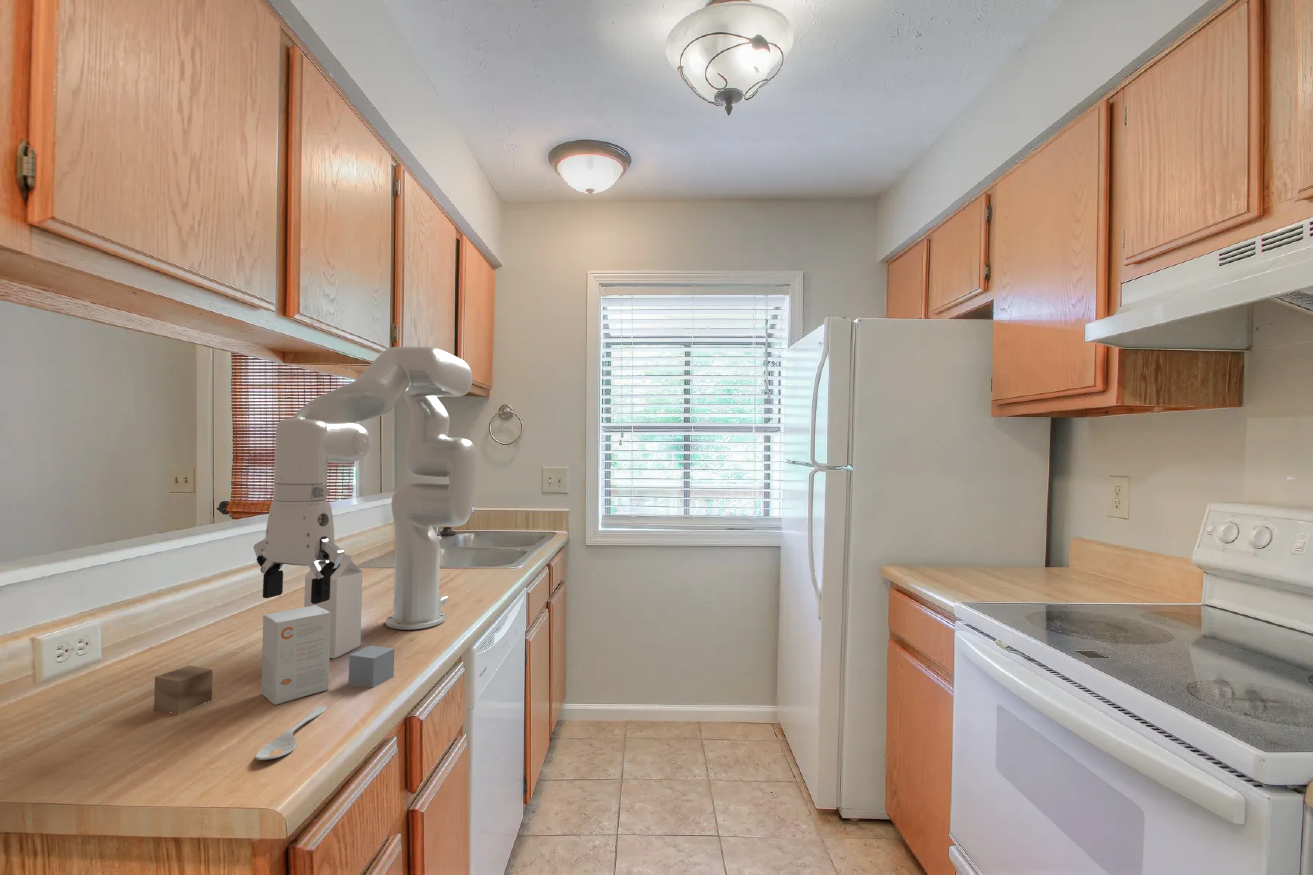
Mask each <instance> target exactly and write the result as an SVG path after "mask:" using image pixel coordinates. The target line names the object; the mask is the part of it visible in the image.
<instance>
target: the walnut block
mask: <svg viewBox="0 0 1313 875" xmlns="http://www.w3.org/2000/svg"><path fill="white" fill-rule="evenodd" d="M213 670H214V669H213V668H208V667H207V668H206V667H201V666H194V665H186V666H182V667H180V668H177V669H174V670H171V671H168V672H166V673H163V674H160V675H158V676H157V675H156V676H154V692H153V693H154V697H153V698H154V699H153V710H155V711H159V712H164V713H169V712H172V713H171V714H174V713H176V714H175V715H180V714H179V713H181V714H183V713H186V712H188V711H190V710H192V708H193V709H194V707H195V708H197V707H196V706H198V707H200V706H202V705H204V704H203V703H205V702H207V703H209V702H211V701H210V700H212V698H213V697H212V696H213V673H214V672H213ZM208 701H209V702H208ZM212 701H213V700H212ZM201 704H202V705H201ZM205 704H206V703H205ZM199 705H200V706H199ZM189 709H190V710H189ZM187 710H188V711H187ZM185 711H186V712H185ZM182 712H183V713H182Z"/></svg>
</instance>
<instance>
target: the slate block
mask: <svg viewBox="0 0 1313 875" xmlns="http://www.w3.org/2000/svg"><path fill="white" fill-rule="evenodd" d="M348 656H349V657H348V660H349V661H348V685H353V686H359V687H366V688H375V687H378V686H379V685H381V684H383V683H384V682H386V681H388V680H390V679H392V678H394V675H395V648H394V647H393V648H392V647H385V646H377V645H369V646H367V647H364V648H361V649H360V650H358V651H355V652H353V653H350V654H349V655H348Z"/></svg>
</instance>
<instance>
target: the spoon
mask: <svg viewBox="0 0 1313 875" xmlns="http://www.w3.org/2000/svg"><path fill="white" fill-rule="evenodd" d="M320 706H321V707H319V706H317V707H318V708H317V707H315V708H314V709H313V710H312V711H310V712H309V713H308V714H306V716H304V717H303V718H302V719H301V720H300V721H298V722H297V723H296V724H295V725H294V726H293V727H291V728H289V729H288V730H286V731H285V732H284V733H282V734H281V735H279V736H277V737H276V738H274V739H272V740H271V741H269V742H268V743H267V744H266V745H264V746H263V747H262V748H260V750H259V751H258V752H257V753H256V754H255V756H254V759H255V760H260V761H264V760H273V759H274V760H275V759H278V758H280V757H283V756H286V755H288V754H290V753H291V752H293V751H294V750H295V748H296V746H297V740H296V739H295V737H294V732H295V731H296V730H298V729H299V728H301V727H302V726H303V725H304V724H306V723H307V722H310V721H311V720H313V719H315V718H317V717H319V716H320V715H322V713H324V712H325V711H326V710H327V708H328V706H327V705H325V704H324V705H320ZM322 706H325V707H322ZM278 750H281V751H283V752H281V753H280V754H278V755H274V756H273V755H272V756H271V755H270V754H271V752H274V751H278Z"/></svg>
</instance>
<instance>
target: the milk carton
mask: <svg viewBox="0 0 1313 875" xmlns="http://www.w3.org/2000/svg"><path fill="white" fill-rule="evenodd" d="M319 566H320V568H321V569H322V566H321V565H319ZM314 578H316V577H315V575H314V574H313V572H312V570H311V569H309V571H308V572H307V573H306V575H305V576H304V598H303V600H304V604H303V607H308V606H314V605H316V606H318V607H321V608H323V609H325V610H327V611H328V612H330V640H329V659H336V658H338V657H342V656H343V655H345V654H347V653H348V652H351V651H353V650H354V649H357V648H359V647H361V639H362V638H361V637H362V634H361V633H362V632H361V631H362V630H361V629H362V606H363V605H362V604H363V603H362V602H363V600H362V599H363V598H362V596H363V571H362V570H361V569H360V567H358V566H357V564H355V563H354V562H353V561H352V554H345V553H344V556H343V558H342V560H341V562H340V566H339V568H338V569H337V570H336V571H335V573H334V575H333V576H331V580H330V599H329V600H328V601H324V602H321V603H317V604H312V603H311V586H312V579H314Z"/></svg>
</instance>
